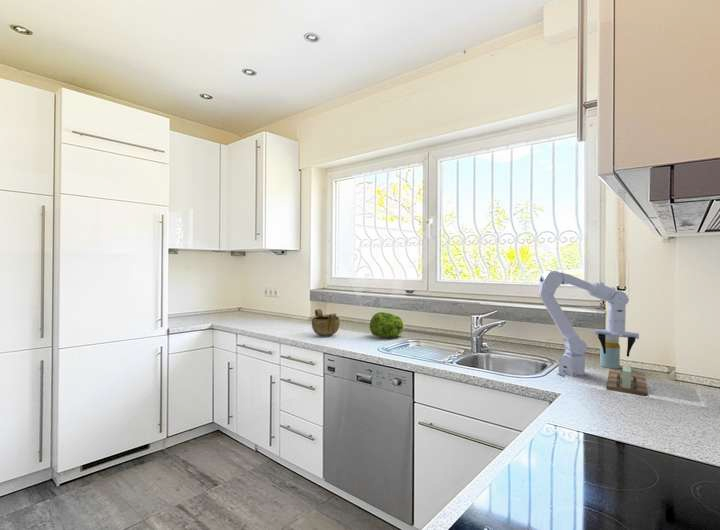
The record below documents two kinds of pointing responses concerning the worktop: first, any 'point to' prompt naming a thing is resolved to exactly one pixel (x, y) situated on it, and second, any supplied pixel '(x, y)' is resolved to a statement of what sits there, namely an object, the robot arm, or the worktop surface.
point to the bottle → (610, 353)
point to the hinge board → (636, 383)
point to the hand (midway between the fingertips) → (616, 354)
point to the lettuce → (386, 325)
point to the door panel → (626, 376)
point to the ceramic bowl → (325, 324)
